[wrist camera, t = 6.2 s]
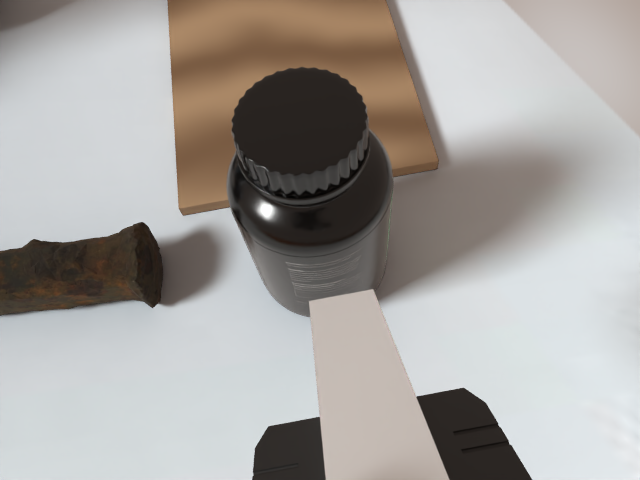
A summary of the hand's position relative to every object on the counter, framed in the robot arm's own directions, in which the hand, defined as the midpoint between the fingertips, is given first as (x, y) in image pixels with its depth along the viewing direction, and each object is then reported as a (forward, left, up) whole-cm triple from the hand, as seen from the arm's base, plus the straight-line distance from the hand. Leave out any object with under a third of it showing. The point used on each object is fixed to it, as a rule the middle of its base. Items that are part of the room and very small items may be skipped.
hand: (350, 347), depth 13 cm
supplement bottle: (+7, +6, -14) cm, 17 cm away
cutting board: (+18, +15, -14) cm, 27 cm away
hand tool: (-4, +20, -15) cm, 25 cm away
